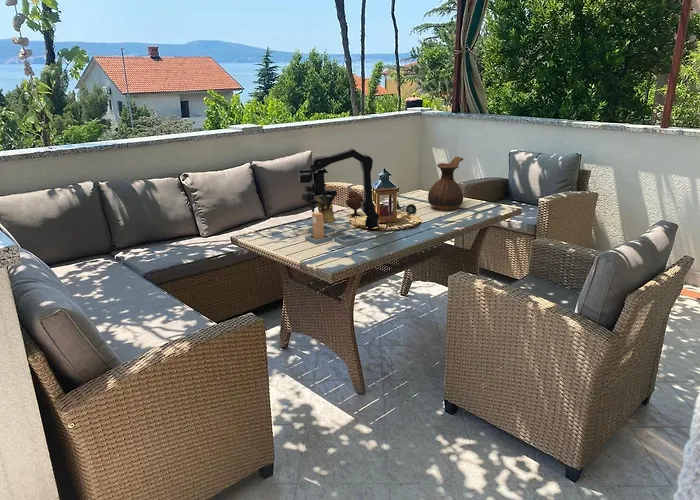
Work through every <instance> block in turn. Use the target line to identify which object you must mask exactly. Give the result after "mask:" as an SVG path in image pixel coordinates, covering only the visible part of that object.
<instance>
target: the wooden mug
mask: <svg viewBox="0 0 700 500" xmlns="http://www.w3.org/2000/svg"><path fill="white" fill-rule="evenodd" d="M317 196H318V195H317ZM314 201H315V202H317V203H318V204H317V211H318V212H319V213H323V220H324V224H331V223H334V222H336V218H335V215H334V210H333V208H334V206H333V204H332V203H333V202H332V203H331V205H330V207H329V210H327V207H326V200H324V201H323V199H322V197H316V198H314Z"/></svg>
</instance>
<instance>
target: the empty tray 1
mask: <svg viewBox="0 0 700 500" xmlns="http://www.w3.org/2000/svg"><path fill="white" fill-rule="evenodd" d="M307 229H308V233H310V234H313V226H312V227H309V228H307ZM335 233H336V232H335V228H333V227H331V226H328V225H326V224H324V234H326V235H330V234H335Z"/></svg>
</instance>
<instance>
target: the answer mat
mask: <svg viewBox="0 0 700 500" xmlns="http://www.w3.org/2000/svg"><path fill="white" fill-rule="evenodd" d="M328 235H329V236H332V237H333V240H334V238H335V237H339V236H343V235H347V233H343V232H334V233H329V234H328Z"/></svg>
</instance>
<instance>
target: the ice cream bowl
mask: <svg viewBox="0 0 700 500" xmlns="http://www.w3.org/2000/svg"><path fill="white" fill-rule="evenodd" d="M347 197H348V198H347V199H345V204H346V206H347V207H348V208H349V209H351V210H353V213H352V214H351V215H350V218H356V217H355V216H360V217H361V214H359V213H358V210H360V209H361V202H363V200H364V196H362V195H361V194H360V193H359V192H357V191H354V190H353V191H352V190H351V191H349V192H348V193H347Z"/></svg>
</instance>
